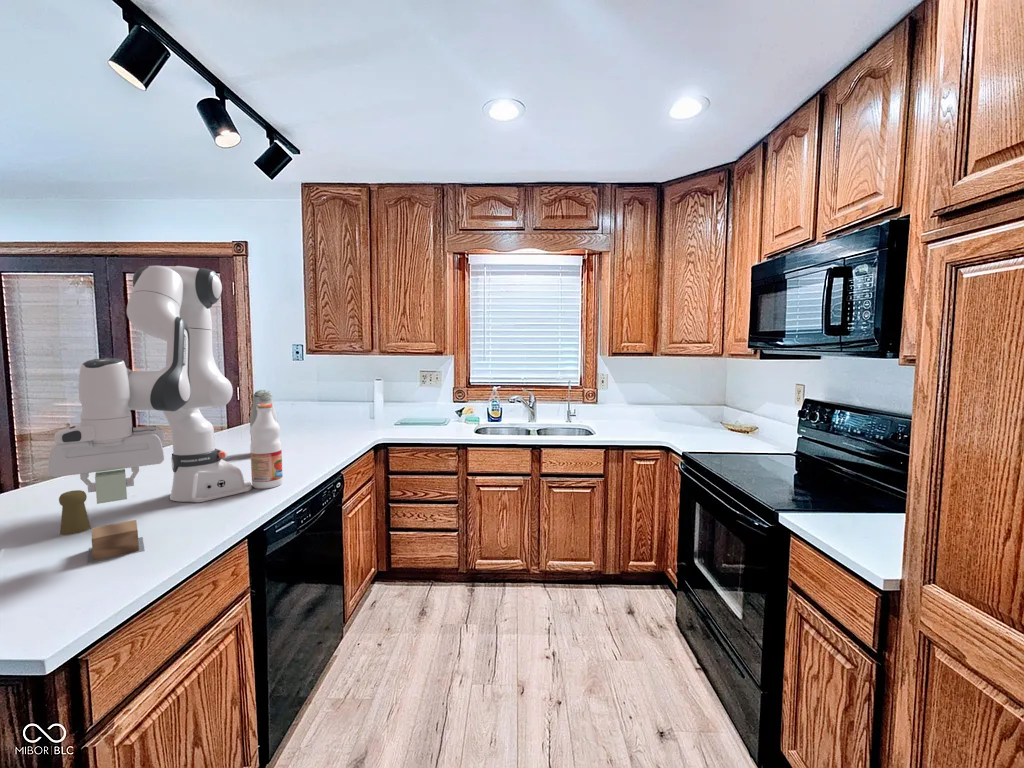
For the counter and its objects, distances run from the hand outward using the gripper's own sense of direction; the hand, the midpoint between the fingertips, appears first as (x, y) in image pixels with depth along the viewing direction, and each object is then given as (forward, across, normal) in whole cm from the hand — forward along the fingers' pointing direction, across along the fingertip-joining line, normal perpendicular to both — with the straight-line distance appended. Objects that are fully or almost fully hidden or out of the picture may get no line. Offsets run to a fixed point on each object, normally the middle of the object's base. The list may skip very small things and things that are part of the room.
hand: (111, 488), depth 109 cm
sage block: (+2, 0, 0) cm, 2 cm away
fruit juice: (+15, -40, -34) cm, 55 cm away
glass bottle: (+15, -50, -82) cm, 97 cm away
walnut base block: (+15, 0, 0) cm, 15 cm away
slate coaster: (+15, 0, 0) cm, 16 cm away
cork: (+16, +8, -21) cm, 27 cm away
